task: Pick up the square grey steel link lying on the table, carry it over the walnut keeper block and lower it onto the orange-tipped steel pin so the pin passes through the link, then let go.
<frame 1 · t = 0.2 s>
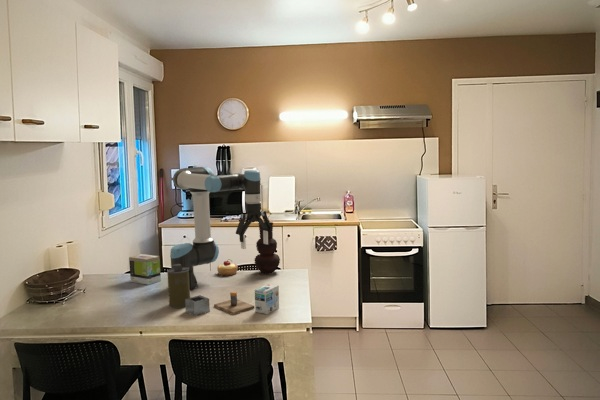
hand: (254, 246, 243), 28 cm above the table, fingers open, 13 cm apart
light bulb box: (267, 310, 234), on the table
vase: (267, 272, 300), on the table
pastry: (227, 274, 300), on the table
tea box: (145, 281, 288), on the table
canister: (180, 305, 245), on the table
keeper: (234, 307, 239), on the table
link: (197, 311, 235), on the table
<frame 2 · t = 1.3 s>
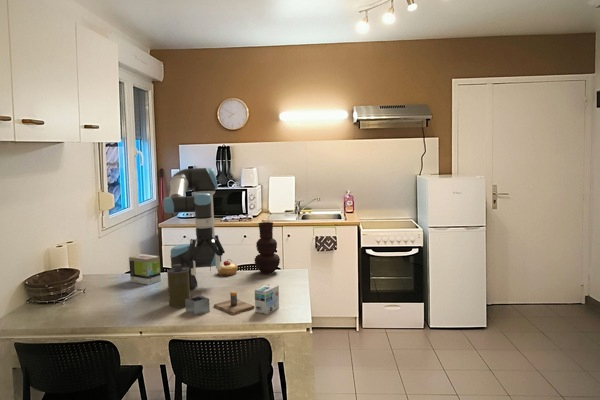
hand: (206, 271, 234), 18 cm above the table, fingers open, 13 cm apart
nothing on the table moved.
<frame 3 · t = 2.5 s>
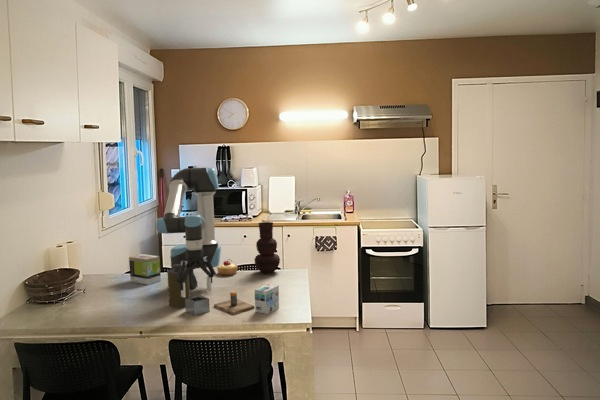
hand: (196, 293, 233), 9 cm above the table, fingers open, 13 cm apart
nothing on the table moved.
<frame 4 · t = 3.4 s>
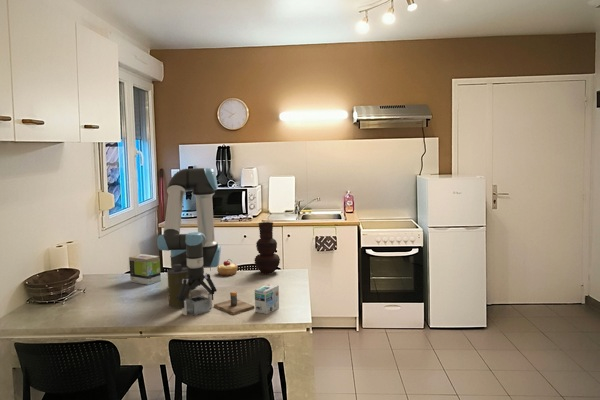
hand: (197, 310, 234), 0 cm above the table, fingers open, 13 cm apart
nothing on the table moved.
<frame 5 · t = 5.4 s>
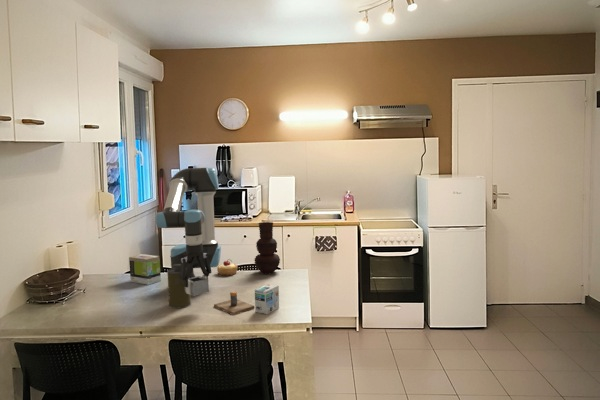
hand: (196, 291, 234), 10 cm above the table, fingers closed on link, 8 cm apart
link: (196, 291, 234), point 9 cm above the table, touching gripper
everything else where it was.
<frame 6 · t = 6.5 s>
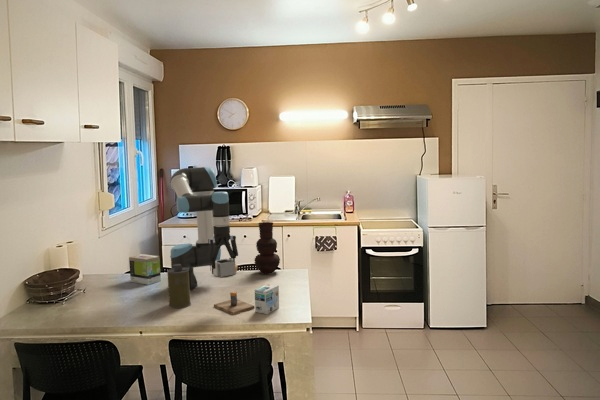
hand: (223, 273, 235), 17 cm above the table, fingers closed on link, 8 cm apart
link: (223, 273, 235), point 17 cm above the table, touching gripper
everything else where it was.
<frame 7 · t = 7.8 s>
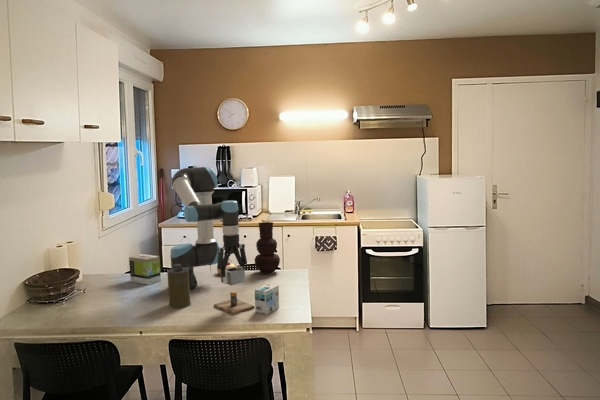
hand: (233, 281, 237), 13 cm above the table, fingers closed on link, 8 cm apart
link: (233, 282, 237), point 12 cm above the table, touching gripper
everything else where it was.
when the fingers open (4 cm above the table, at t = 10.0 s): link drops 3 cm, resting on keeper.
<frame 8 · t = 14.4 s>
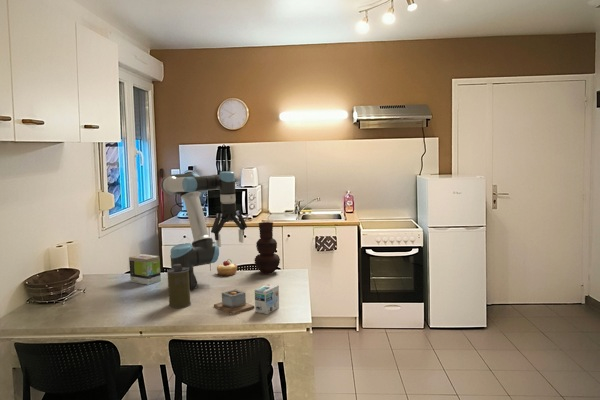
hand: (230, 244, 254), 27 cm above the table, fingers open, 13 cm apart
link: (234, 305, 238), point 1 cm above the table, touching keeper
everything else where it was.
at the end: link 0.0 cm off-centre on the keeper, point 1.2 cm above the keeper's base; the gripper is holding nothing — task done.
